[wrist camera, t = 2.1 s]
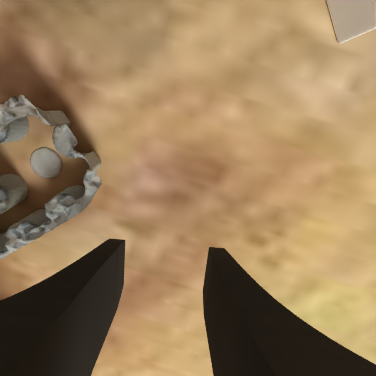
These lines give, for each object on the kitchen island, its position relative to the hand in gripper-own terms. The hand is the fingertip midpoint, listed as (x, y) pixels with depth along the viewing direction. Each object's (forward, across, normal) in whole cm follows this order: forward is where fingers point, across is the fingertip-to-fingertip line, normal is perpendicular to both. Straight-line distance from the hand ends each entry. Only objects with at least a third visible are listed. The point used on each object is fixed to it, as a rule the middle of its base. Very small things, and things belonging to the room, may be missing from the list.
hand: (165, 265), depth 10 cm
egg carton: (+10, +10, 0) cm, 14 cm away
